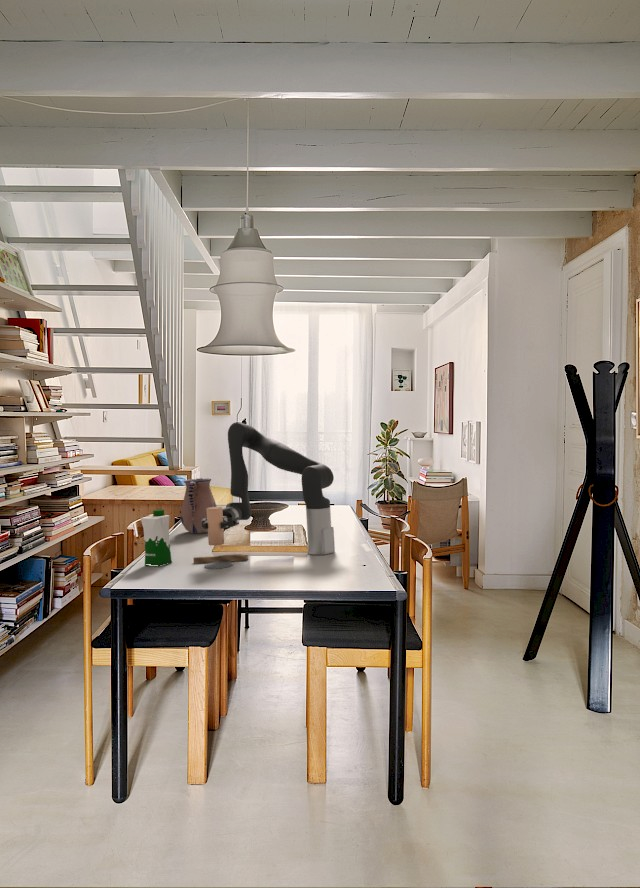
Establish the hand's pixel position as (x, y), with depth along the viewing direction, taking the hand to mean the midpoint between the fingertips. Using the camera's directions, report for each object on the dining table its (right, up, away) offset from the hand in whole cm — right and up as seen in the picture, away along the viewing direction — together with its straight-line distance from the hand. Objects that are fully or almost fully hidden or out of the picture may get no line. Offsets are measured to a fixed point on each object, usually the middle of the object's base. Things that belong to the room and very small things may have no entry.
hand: (213, 525), depth 257 cm
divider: (+1, -14, +11) cm, 18 cm away
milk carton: (-22, -16, +12) cm, 30 cm away
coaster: (+1, -15, +3) cm, 15 cm away
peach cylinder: (+1, -7, +3) cm, 7 cm away
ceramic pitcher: (-18, -13, +81) cm, 84 cm away
